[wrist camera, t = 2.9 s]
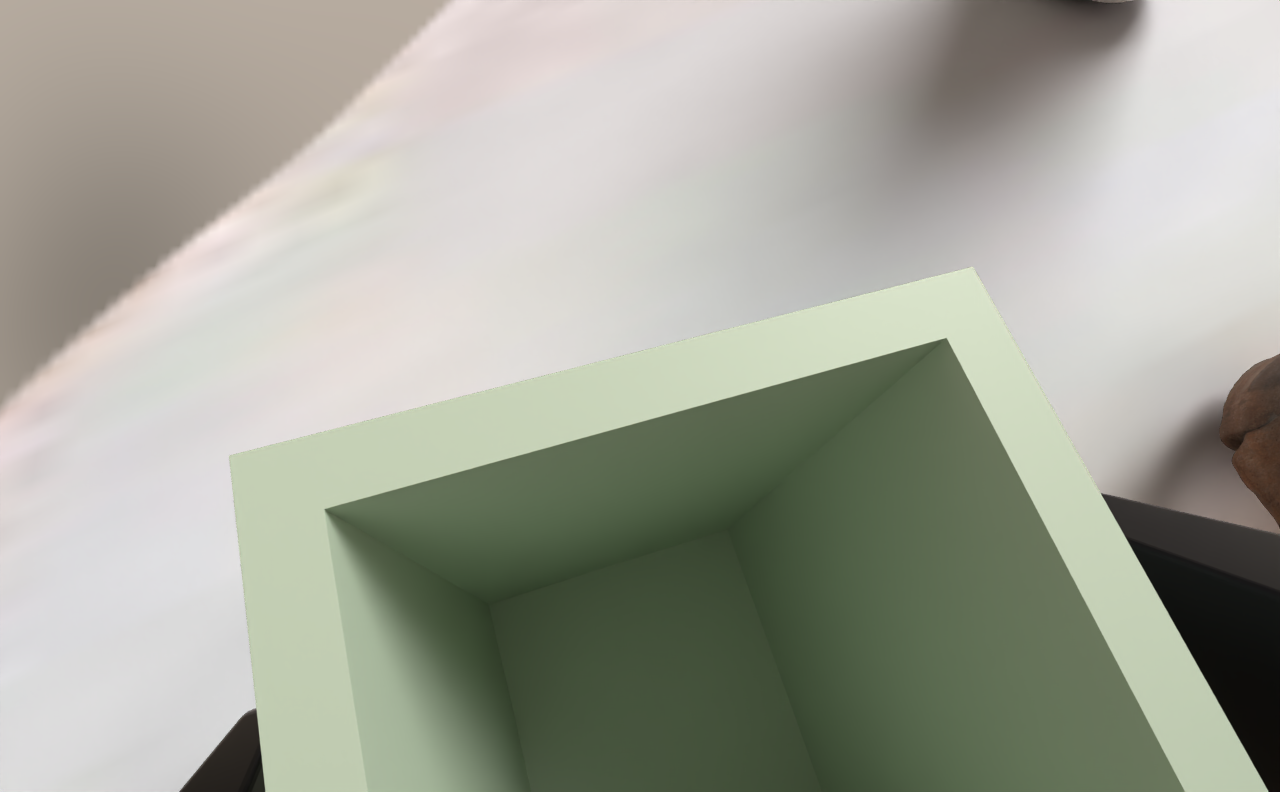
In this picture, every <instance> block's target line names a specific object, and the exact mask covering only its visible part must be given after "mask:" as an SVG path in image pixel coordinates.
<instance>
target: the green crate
mask: <svg viewBox="0 0 1280 792" xmlns="http://www.w3.org/2000/svg"><path fill="white" fill-rule="evenodd" d="M229 461H230V470H231V479H232V488H233V497H234V507H235V516H236V525H237V534H238V543H239V553H240V562H241V571H242V580H243V589H244V599H245V608H246V617H247V626H248V635H249V645H250V654H251V663H252V672H253V681H254V691H255V700H256V709H257V718H258V727H259V737H260V746H261V755H262V764H263V773H264V783H265V792H1268V790H1267V788H1266V786H1265V784H1264V783H1263V781H1262V779H1261V777H1260V776H1259V774H1258V772H1257V770H1256V768H1255V767H1254V765H1253V763H1252V761H1251V760H1250V758H1249V756H1248V754H1247V752H1246V751H1245V749H1244V747H1243V745H1242V744H1241V742H1240V740H1239V738H1238V736H1237V735H1236V733H1235V731H1234V729H1233V728H1232V726H1231V724H1230V722H1229V720H1228V719H1227V717H1226V715H1225V713H1224V712H1223V710H1222V708H1221V706H1220V705H1219V703H1218V701H1217V699H1216V697H1215V696H1214V694H1213V692H1212V690H1211V689H1210V687H1209V685H1208V683H1207V681H1206V680H1205V678H1204V676H1203V674H1202V673H1201V671H1200V669H1199V667H1198V665H1197V664H1196V662H1195V660H1194V658H1193V657H1192V655H1191V653H1190V651H1189V649H1188V648H1187V646H1186V644H1185V642H1184V641H1183V639H1182V637H1181V635H1180V633H1179V632H1178V630H1177V628H1176V626H1175V625H1174V623H1173V621H1172V619H1171V617H1170V616H1169V614H1168V612H1167V610H1166V609H1165V607H1164V605H1163V603H1162V601H1161V600H1160V598H1159V596H1158V594H1157V593H1156V591H1155V589H1154V587H1153V585H1152V584H1151V582H1150V580H1149V578H1148V577H1147V575H1146V573H1145V571H1144V569H1143V568H1142V566H1141V564H1140V562H1139V561H1138V559H1137V557H1136V555H1135V553H1134V552H1133V550H1132V548H1131V546H1130V545H1129V543H1128V541H1127V539H1126V538H1125V536H1124V534H1123V532H1122V530H1121V529H1120V527H1119V525H1118V523H1117V522H1116V520H1115V518H1114V516H1113V514H1112V513H1111V511H1110V509H1109V507H1108V506H1107V504H1106V502H1105V500H1104V498H1103V497H1102V495H1101V493H1100V491H1099V490H1098V488H1097V486H1096V484H1095V482H1094V481H1093V479H1092V477H1091V475H1090V474H1089V472H1088V470H1087V468H1086V466H1085V465H1084V463H1083V461H1082V459H1081V458H1080V456H1079V454H1078V452H1077V450H1076V449H1075V447H1074V445H1073V443H1072V442H1071V440H1070V438H1069V436H1068V434H1067V433H1066V431H1065V429H1064V427H1063V426H1062V424H1061V422H1060V420H1059V418H1058V417H1057V415H1056V413H1055V411H1054V410H1053V408H1052V406H1051V404H1050V402H1049V401H1048V399H1047V397H1046V395H1045V394H1044V392H1043V390H1042V388H1041V386H1040V385H1039V383H1038V381H1037V379H1036V378H1035V376H1034V374H1033V372H1032V371H1031V369H1030V367H1029V365H1028V363H1027V362H1026V360H1025V358H1024V356H1023V355H1022V353H1021V351H1020V349H1019V347H1018V346H1017V344H1016V342H1015V340H1014V339H1013V337H1012V335H1011V333H1010V331H1009V330H1008V328H1007V326H1006V324H1005V323H1004V321H1003V319H1002V317H1001V315H1000V314H999V312H998V310H997V308H996V307H995V305H994V303H993V301H992V299H991V298H990V296H989V294H988V292H987V291H986V289H985V287H984V285H983V283H982V282H981V280H980V278H979V276H978V275H977V273H976V271H975V269H974V267H969V268H965V269H961V270H957V271H954V272H950V273H946V274H942V275H938V276H934V277H930V278H926V279H922V280H918V281H914V282H910V283H906V284H902V285H898V286H895V287H891V288H887V289H883V290H879V291H875V292H871V293H867V294H863V295H859V296H855V297H851V298H847V299H843V300H839V301H836V302H832V303H828V304H824V305H820V306H816V307H812V308H808V309H804V310H800V311H796V312H792V313H788V314H784V315H780V316H777V317H773V318H769V319H765V320H761V321H757V322H753V323H749V324H745V325H741V326H737V327H733V328H729V329H725V330H721V331H718V332H714V333H710V334H706V335H702V336H698V337H694V338H690V339H686V340H682V341H678V342H674V343H670V344H666V345H662V346H659V347H655V348H651V349H647V350H643V351H639V352H635V353H631V354H627V355H623V356H619V357H615V358H611V359H607V360H603V361H600V362H596V363H592V364H588V365H584V366H580V367H576V368H572V369H568V370H564V371H560V372H556V373H552V374H548V375H544V376H541V377H537V378H533V379H529V380H525V381H521V382H517V383H513V384H509V385H505V386H501V387H497V388H493V389H489V390H485V391H482V392H478V393H474V394H470V395H466V396H462V397H458V398H454V399H450V400H446V401H442V402H438V403H434V404H430V405H426V406H423V407H419V408H415V409H411V410H407V411H403V412H399V413H395V414H391V415H387V416H383V417H379V418H375V419H371V420H367V421H364V422H360V423H356V424H352V425H348V426H344V427H340V428H336V429H332V430H328V431H324V432H320V433H316V434H312V435H308V436H305V437H301V438H297V439H293V440H289V441H285V442H281V443H277V444H273V445H269V446H265V447H261V448H257V449H253V450H249V451H246V452H242V453H238V454H234V455H230V456H229Z"/></svg>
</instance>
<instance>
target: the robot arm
mask: <svg viewBox="0 0 1280 792" xmlns="http://www.w3.org/2000/svg"><path fill="white" fill-rule="evenodd" d="M1101 495H1102V497H1103V498H1104V500H1105V502H1106V504H1107V506H1108V507H1109V509H1110V511H1111V513H1112V514H1113V516H1114V518H1115V520H1116V522H1117V523H1118V525H1119V527H1120V529H1121V530H1122V532H1123V534H1124V536H1125V538H1126V539H1127V541H1128V543H1129V545H1130V546H1131V548H1132V550H1133V552H1134V553H1135V555H1136V557H1137V559H1138V561H1139V562H1140V564H1141V566H1142V568H1143V569H1144V571H1145V573H1146V575H1147V577H1148V578H1149V580H1150V582H1151V584H1152V585H1153V587H1154V589H1155V591H1156V593H1157V594H1158V596H1159V598H1160V600H1161V601H1162V603H1163V605H1164V607H1165V609H1166V610H1167V612H1168V614H1169V616H1170V617H1171V619H1172V621H1173V623H1174V625H1175V626H1176V628H1177V630H1178V632H1179V633H1180V635H1181V637H1182V639H1183V641H1184V642H1185V644H1186V646H1187V648H1188V649H1189V651H1190V653H1191V655H1192V657H1193V658H1194V660H1195V662H1196V664H1197V665H1198V667H1199V669H1200V671H1201V673H1202V674H1203V676H1204V678H1205V680H1206V681H1207V683H1208V685H1209V687H1210V689H1211V690H1212V692H1213V694H1214V696H1215V697H1216V699H1217V701H1218V703H1219V705H1220V706H1221V708H1222V710H1223V712H1224V713H1225V715H1226V717H1227V719H1228V720H1229V722H1230V724H1231V726H1232V728H1233V729H1234V731H1235V733H1236V735H1237V736H1238V738H1239V740H1240V742H1241V744H1242V745H1243V747H1244V749H1245V751H1246V752H1247V754H1248V756H1249V758H1250V760H1251V761H1252V763H1253V765H1254V767H1255V768H1256V770H1257V772H1258V774H1259V776H1260V777H1261V779H1262V781H1263V783H1264V784H1265V786H1266V788H1267V790H1268V792H1280V534H1275V533H1271V532H1267V531H1262V530H1258V529H1254V528H1249V527H1245V526H1241V525H1236V524H1232V523H1228V522H1223V521H1219V520H1215V519H1210V518H1206V517H1202V516H1198V515H1193V514H1189V513H1185V512H1180V511H1176V510H1172V509H1167V508H1163V507H1159V506H1154V505H1150V504H1146V503H1141V502H1137V501H1133V500H1128V499H1124V498H1120V497H1115V496H1111V495H1107V494H1102V493H1101ZM179 792H265V783H264V773H263V764H262V755H261V746H260V737H259V727H258V718H257V709H256V708H255V709H252V710H251V711H248V712H247V713H245V714H244V715H243V716H242V717H241V718H240V719H239V721H238V722H237V723H236V724H235V725H234V727H233V728H232V729H231V730H230V731H229V733H228V734H227V735H226V736H225V737H224V739H223V740H222V741H221V742H220V743H219V745H218V746H217V747H216V748H215V749H214V751H213V752H212V753H211V754H210V755H209V757H208V758H207V759H206V760H205V761H204V763H203V764H202V765H201V766H200V767H199V769H198V770H197V771H196V772H195V773H194V775H193V776H192V777H191V778H190V779H189V781H188V782H187V783H186V784H185V785H184V787H183V788H182V789H181V790H180V791H179Z"/></svg>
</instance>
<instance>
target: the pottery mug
mask: <svg viewBox="0 0 1280 792" xmlns="http://www.w3.org/2000/svg"><path fill="white" fill-rule="evenodd" d="M1219 433H1220V438H1221V441H1222V442H1223V443H1224V444H1225V445H1226V446H1227V447H1229V448H1231V449H1232V450H1235V451H1236V452H1235V453H1234V455H1233V458H1232V464H1233V466H1234V468H1235V469H1236V471H1237V472H1238V474H1239V476H1240V478H1241V479H1242V481H1243V482H1244V483H1245V485H1246V486H1247V487H1248V488H1249V489H1250V490H1251V491H1252V492H1254V493H1255V494H1256V496H1257V497H1258V499H1259V500H1260V501H1261V503H1262V504H1263V505H1264V507H1265V508H1266V509H1267V510H1268V511H1269V512H1270V514H1271V515H1272V516H1273V517H1274V519H1275V520H1276V522H1277V523H1278V525H1279V528H1280V354H1278V355H1276V356H1274V357H1272V358H1270V359H1266V360H1264V361H1261V362H1259V363H1257V364H1255V365H1254V366H1252V367H1251V368H1250V369H1249V370H1247V371H1246V372H1245V373H1244V374H1243V375H1242V376H1241V377H1240V379H1239V380H1238V381H1237V382H1236V383H1235V384H1234V387H1233V388H1232V389H1231V391H1230V393H1229V395H1228V397H1227V400H1226V402H1225V405H1224V409H1223V417H1222V423H1221V426H1220V431H1219Z"/></svg>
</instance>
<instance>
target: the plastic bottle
mask: <svg viewBox="0 0 1280 792" xmlns="http://www.w3.org/2000/svg"><path fill="white" fill-rule="evenodd" d="M1092 1H1098V2H1105V3H1122V2H1127V1H1132V0H1092Z"/></svg>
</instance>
